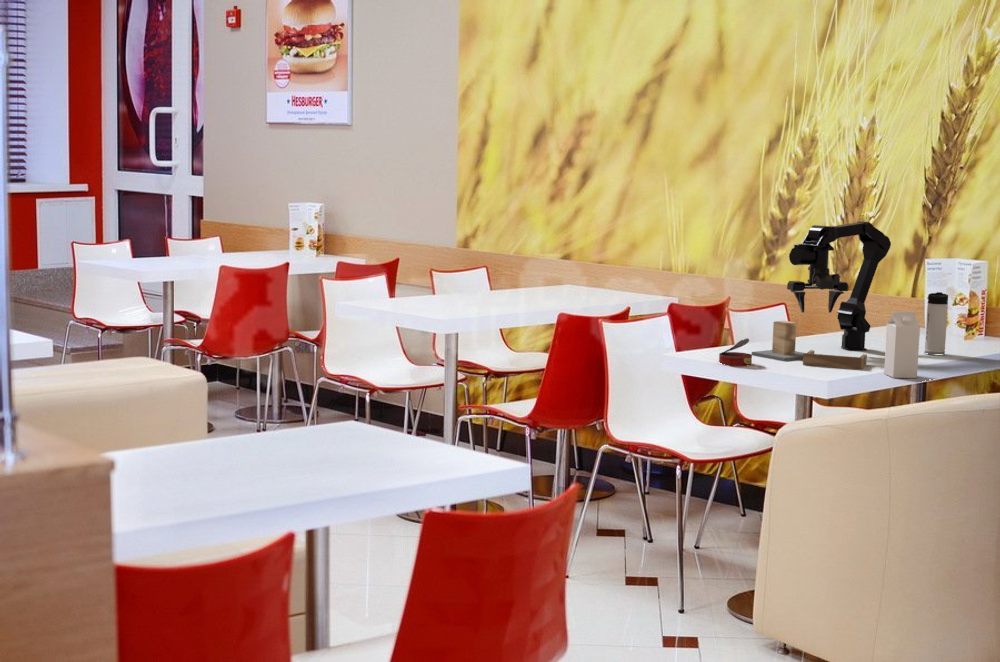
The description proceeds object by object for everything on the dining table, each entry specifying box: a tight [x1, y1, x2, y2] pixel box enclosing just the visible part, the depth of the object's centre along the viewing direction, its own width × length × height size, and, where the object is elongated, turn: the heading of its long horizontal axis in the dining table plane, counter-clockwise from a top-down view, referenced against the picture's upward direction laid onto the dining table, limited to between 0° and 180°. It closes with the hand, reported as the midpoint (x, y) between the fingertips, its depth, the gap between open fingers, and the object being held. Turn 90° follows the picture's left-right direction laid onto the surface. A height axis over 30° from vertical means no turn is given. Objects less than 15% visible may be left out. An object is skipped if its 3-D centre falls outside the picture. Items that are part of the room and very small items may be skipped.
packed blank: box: [771, 320, 797, 355], centre depth 407 cm, size 5×5×10 cm
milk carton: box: [883, 310, 921, 379], centre depth 372 cm, size 7×7×19 cm
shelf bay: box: [802, 349, 868, 370], centre depth 393 cm, size 12×17×4 cm
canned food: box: [718, 337, 753, 367], centre depth 391 cm, size 11×10×10 cm
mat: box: [751, 349, 805, 362], centre depth 407 cm, size 14×14×1 cm
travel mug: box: [924, 291, 949, 355], centre depth 417 cm, size 6×7×20 cm
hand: (816, 312), depth 416 cm, fingers open, 9 cm apart
